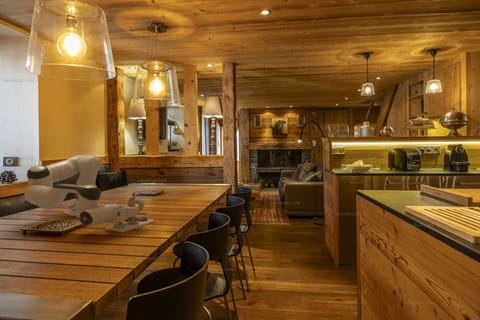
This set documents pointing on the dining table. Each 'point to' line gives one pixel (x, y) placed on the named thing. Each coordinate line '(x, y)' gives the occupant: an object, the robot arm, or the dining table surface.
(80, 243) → the dining table surface
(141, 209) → the donut
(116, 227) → the gear board
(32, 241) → the dining table surface
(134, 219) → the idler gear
